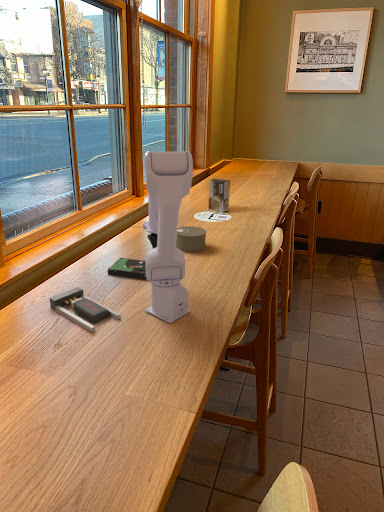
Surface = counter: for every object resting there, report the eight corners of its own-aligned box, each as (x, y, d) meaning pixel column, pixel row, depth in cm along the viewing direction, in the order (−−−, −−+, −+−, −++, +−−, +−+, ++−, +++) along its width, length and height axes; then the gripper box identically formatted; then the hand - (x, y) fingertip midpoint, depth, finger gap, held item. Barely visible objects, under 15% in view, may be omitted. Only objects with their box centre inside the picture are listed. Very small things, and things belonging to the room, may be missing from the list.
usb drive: (93, 325, 98) (92, 316, 97) (68, 309, 105) (67, 300, 104) (110, 317, 101) (109, 308, 100) (84, 302, 109) (83, 294, 108)
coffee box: (229, 211, 203) (230, 180, 197) (223, 213, 198) (224, 182, 192) (213, 208, 207) (215, 178, 202) (207, 211, 202) (208, 180, 196)
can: (202, 254, 144) (203, 237, 142) (171, 251, 146) (171, 234, 144) (208, 244, 155) (208, 227, 152) (178, 241, 157) (178, 225, 155)
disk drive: (160, 270, 132) (120, 264, 135) (160, 262, 131) (120, 257, 134) (150, 282, 122) (107, 276, 126) (150, 274, 121) (106, 268, 125)
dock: (120, 318, 101) (120, 308, 100) (91, 332, 94) (90, 321, 93) (79, 296, 112) (78, 286, 110) (50, 307, 105) (49, 297, 104)
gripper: (133, 209, 113) (134, 253, 118) (162, 221, 103) (162, 268, 108) (153, 206, 117) (153, 248, 122) (183, 216, 107) (182, 262, 112)
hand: (159, 257), depth 115 cm, fingers closed
